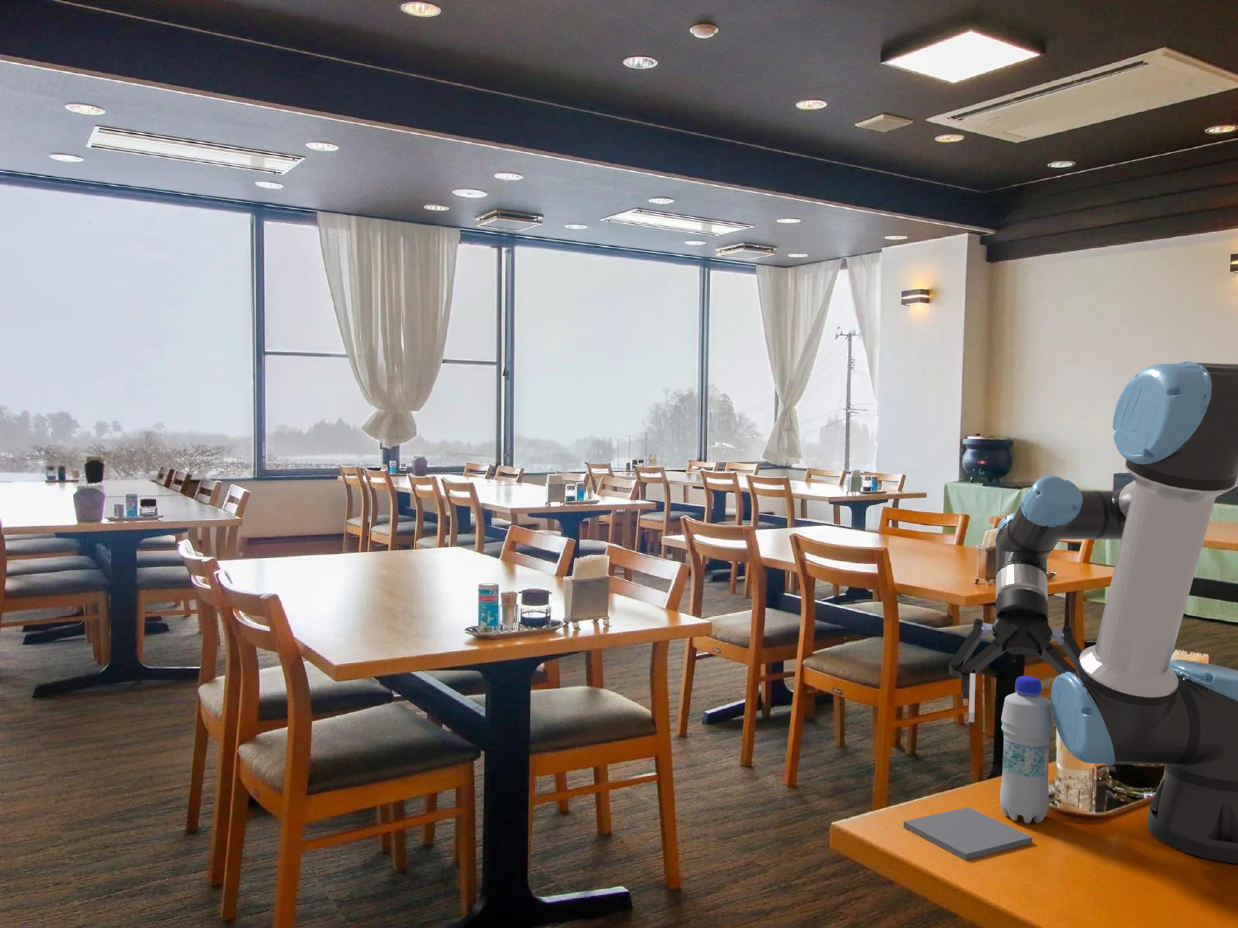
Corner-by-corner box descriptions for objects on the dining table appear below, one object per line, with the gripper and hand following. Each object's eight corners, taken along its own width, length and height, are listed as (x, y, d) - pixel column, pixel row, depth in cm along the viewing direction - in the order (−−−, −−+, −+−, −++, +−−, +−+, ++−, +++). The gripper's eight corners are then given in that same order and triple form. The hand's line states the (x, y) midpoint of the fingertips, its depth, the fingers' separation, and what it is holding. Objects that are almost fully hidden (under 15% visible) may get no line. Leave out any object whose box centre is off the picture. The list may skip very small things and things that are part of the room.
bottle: (1054, 829, 132) (1060, 684, 131) (1002, 824, 133) (1007, 680, 133) (1043, 810, 139) (1048, 671, 138) (994, 805, 140) (998, 668, 139)
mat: (1032, 842, 127) (1032, 836, 127) (965, 860, 122) (965, 853, 122) (967, 812, 137) (967, 806, 137) (903, 826, 132) (903, 821, 132)
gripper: (1107, 621, 149) (1117, 747, 136) (937, 608, 158) (930, 725, 144) (1113, 592, 144) (1123, 720, 130) (937, 580, 153) (929, 699, 139)
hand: (1022, 723), depth 137 cm, fingers open, 13 cm apart
